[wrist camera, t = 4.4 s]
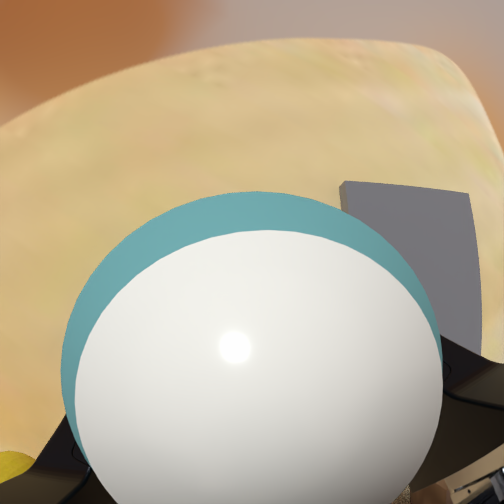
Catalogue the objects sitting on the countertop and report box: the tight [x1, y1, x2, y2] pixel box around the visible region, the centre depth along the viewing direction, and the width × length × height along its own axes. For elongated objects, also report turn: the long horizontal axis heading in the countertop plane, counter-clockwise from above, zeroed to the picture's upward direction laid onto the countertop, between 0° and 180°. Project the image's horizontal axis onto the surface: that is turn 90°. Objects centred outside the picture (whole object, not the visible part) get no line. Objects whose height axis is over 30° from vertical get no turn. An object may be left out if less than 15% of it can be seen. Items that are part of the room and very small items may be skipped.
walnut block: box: [410, 479, 453, 504], centre depth 12 cm, size 5×5×5 cm
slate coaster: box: [339, 181, 482, 356], centre depth 16 cm, size 12×10×1 cm
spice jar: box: [61, 191, 443, 504], centre depth 9 cm, size 6×6×13 cm
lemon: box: [0, 451, 36, 483], centre depth 9 cm, size 6×6×8 cm
